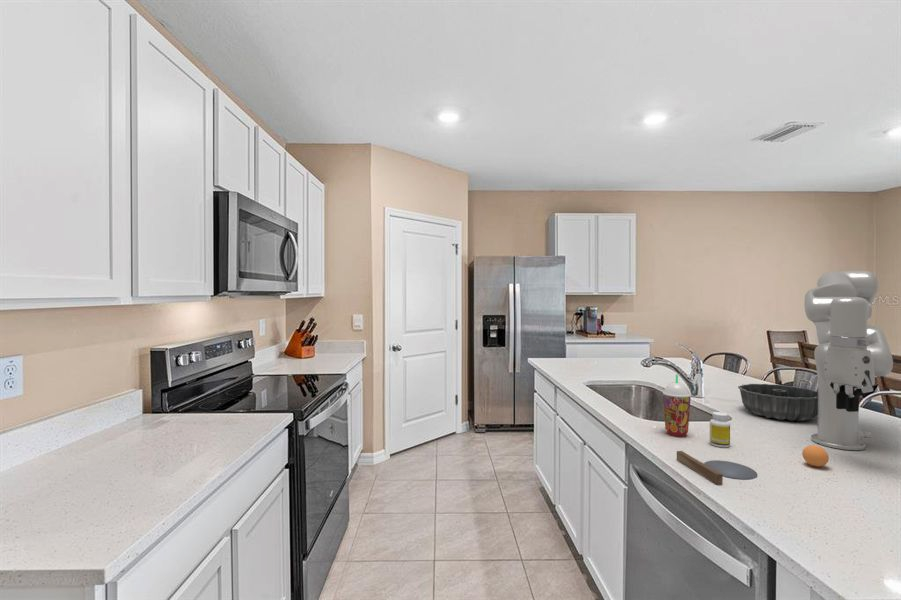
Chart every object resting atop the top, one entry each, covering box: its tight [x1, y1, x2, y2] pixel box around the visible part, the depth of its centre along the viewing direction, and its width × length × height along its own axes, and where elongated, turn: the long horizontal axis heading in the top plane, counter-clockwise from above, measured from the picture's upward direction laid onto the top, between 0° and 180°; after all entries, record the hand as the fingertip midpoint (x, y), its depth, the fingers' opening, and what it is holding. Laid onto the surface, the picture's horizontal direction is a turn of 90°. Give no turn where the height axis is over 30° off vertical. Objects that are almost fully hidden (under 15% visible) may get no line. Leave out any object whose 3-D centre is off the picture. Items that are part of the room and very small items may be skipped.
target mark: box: [704, 459, 758, 481], centre depth 115 cm, size 12×12×1 cm
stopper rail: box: [676, 450, 723, 486], centre depth 114 cm, size 2×16×2 cm, turn 5°
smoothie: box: [662, 374, 692, 438], centre depth 144 cm, size 8×8×20 cm
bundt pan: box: [737, 383, 818, 422], centre depth 166 cm, size 26×26×10 cm
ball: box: [801, 444, 830, 468], centre depth 117 cm, size 6×6×6 cm
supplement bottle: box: [709, 411, 731, 448], centre depth 134 cm, size 5×5×10 cm
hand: (847, 409), depth 118 cm, fingers closed
